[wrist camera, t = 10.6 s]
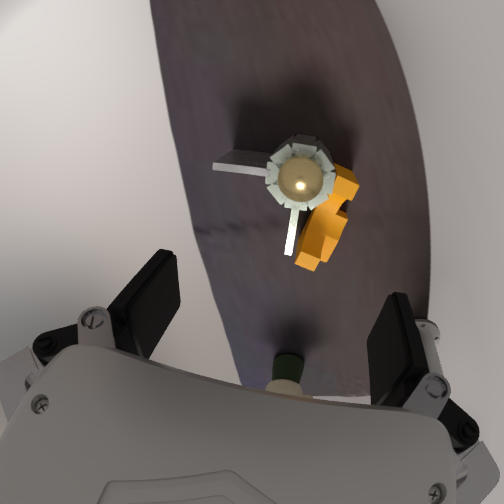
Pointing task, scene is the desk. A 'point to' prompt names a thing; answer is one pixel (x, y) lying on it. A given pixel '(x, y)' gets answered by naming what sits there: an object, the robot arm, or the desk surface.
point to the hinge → (271, 166)
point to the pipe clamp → (326, 222)
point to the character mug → (287, 376)
